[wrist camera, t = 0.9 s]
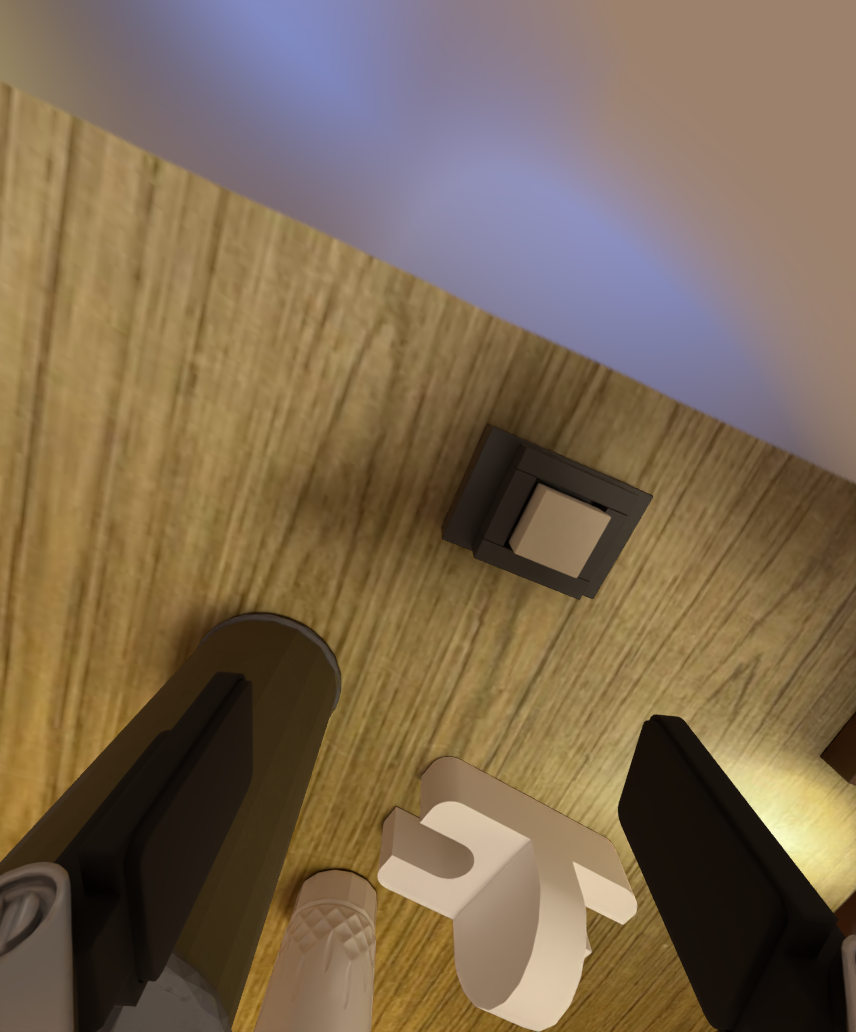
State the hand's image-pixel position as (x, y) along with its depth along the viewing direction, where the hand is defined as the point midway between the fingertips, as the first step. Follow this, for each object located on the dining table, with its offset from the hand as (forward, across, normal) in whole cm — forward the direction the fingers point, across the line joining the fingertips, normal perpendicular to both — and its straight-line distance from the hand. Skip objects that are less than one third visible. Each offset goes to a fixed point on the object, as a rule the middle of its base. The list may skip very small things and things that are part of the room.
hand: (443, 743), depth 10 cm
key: (+14, -6, -2) cm, 15 cm away
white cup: (+17, +4, +34) cm, 38 cm away
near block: (+17, -6, -2) cm, 18 cm away
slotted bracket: (+17, -8, +26) cm, 32 cm away
